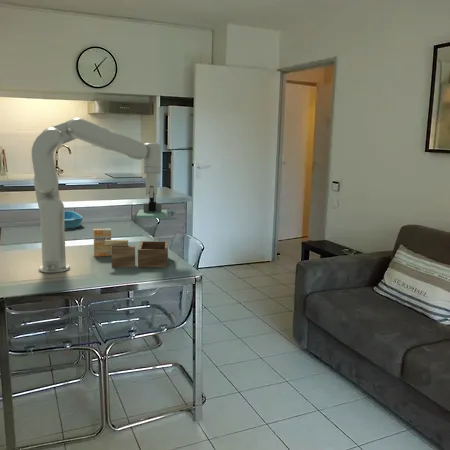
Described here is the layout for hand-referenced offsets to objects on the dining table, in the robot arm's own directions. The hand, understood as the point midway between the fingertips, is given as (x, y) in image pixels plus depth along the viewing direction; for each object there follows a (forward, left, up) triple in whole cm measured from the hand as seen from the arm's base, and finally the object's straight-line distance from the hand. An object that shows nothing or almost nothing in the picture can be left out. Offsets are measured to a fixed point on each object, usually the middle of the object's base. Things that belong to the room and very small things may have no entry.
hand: (152, 210), depth 224 cm
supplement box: (+11, +24, -24) cm, 36 cm away
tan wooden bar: (-10, +15, -14) cm, 23 cm away
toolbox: (-3, +5, -24) cm, 25 cm away
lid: (-2, 0, -2) cm, 3 cm away
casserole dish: (+94, +62, -25) cm, 115 cm away
